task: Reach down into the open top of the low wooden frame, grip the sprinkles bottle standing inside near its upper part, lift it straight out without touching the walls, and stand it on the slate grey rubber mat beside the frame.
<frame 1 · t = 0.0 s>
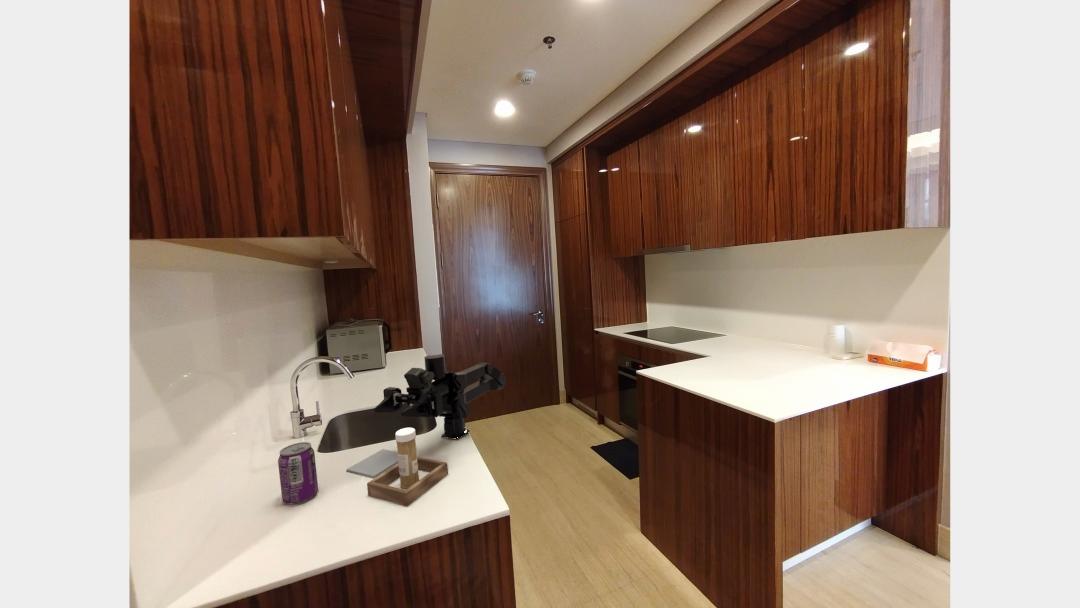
hand: (387, 412, 93), 17 cm above the countertop, tool horizontal, fingers open, 9 cm apart
beverage can: (301, 498, 87), on the countertop
sprinkles bottle: (409, 485, 90), resting in wooden frame
wooden frame: (409, 484, 90), on the countertop
mat: (378, 463, 101), on the countertop
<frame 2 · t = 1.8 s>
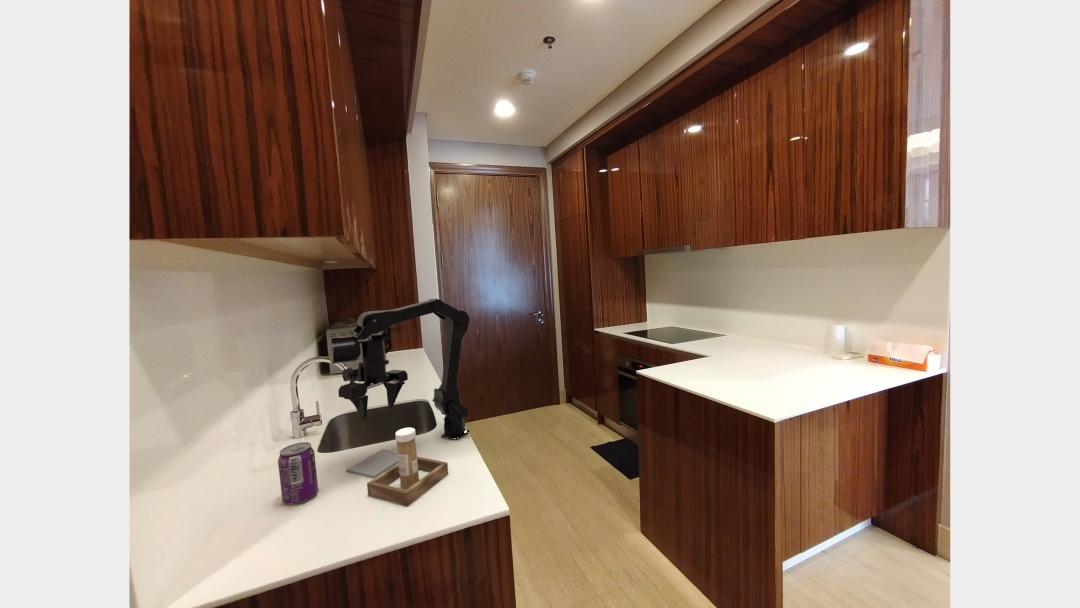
hand: (377, 413, 102), 13 cm above the countertop, tool pointing down, fingers open, 9 cm apart
nothing on the countertop moved.
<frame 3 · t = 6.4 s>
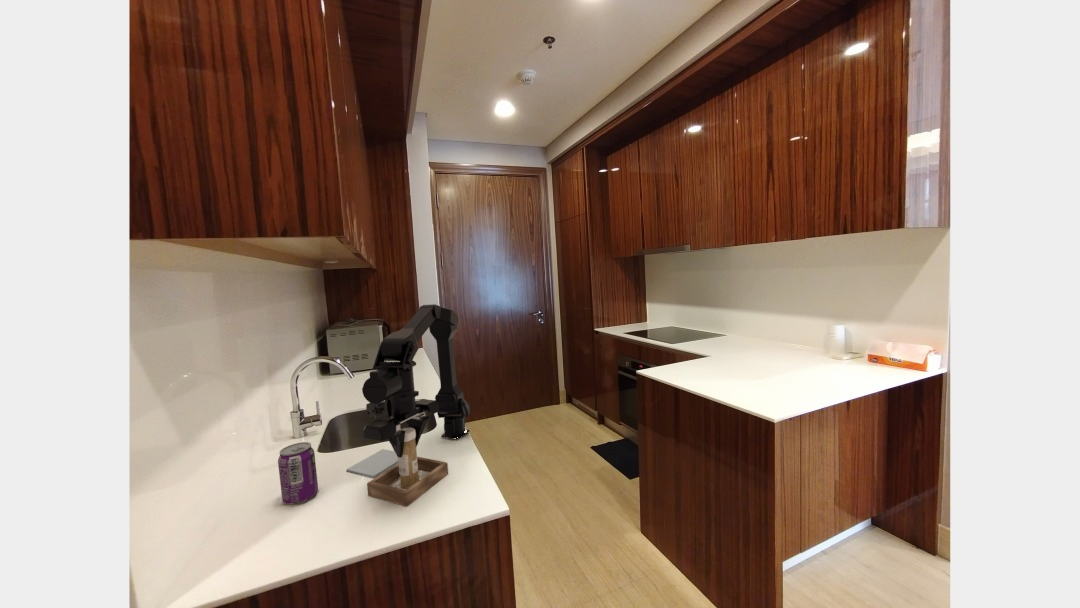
hand: (407, 452, 89), 8 cm above the countertop, tool pointing down, fingers closed on sprinkles bottle, 4 cm apart
sprinkles bottle: (409, 485, 90), resting in wooden frame, touching gripper
everything else where it was.
when the fingers open (9 cm above the countertop, at t = 11.0 s): sprinkles bottle stays where it is, resting on mat.
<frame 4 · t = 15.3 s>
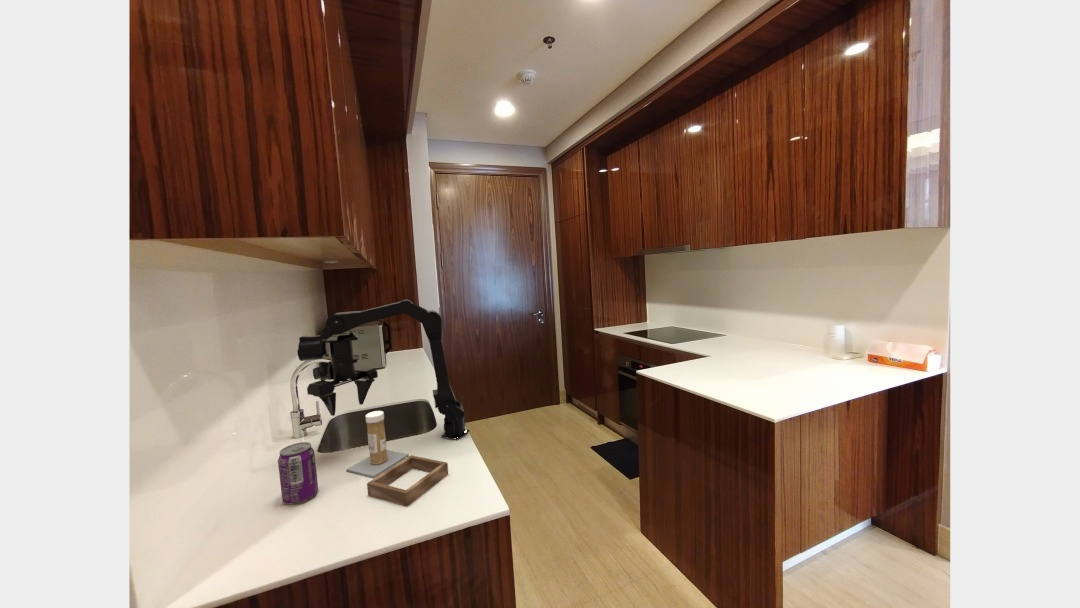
hand: (347, 409, 107), 13 cm above the countertop, tool pointing down, fingers open, 9 cm apart
sprinkles bottle: (379, 461, 101), resting on mat
everything else where it was.
at the end: sprinkles bottle inside the target area on the mat (0.2 cm from its centre), point 0.4 cm above the mat's base; sprinkles bottle tilted 0°; sprinkles bottle touching mat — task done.
